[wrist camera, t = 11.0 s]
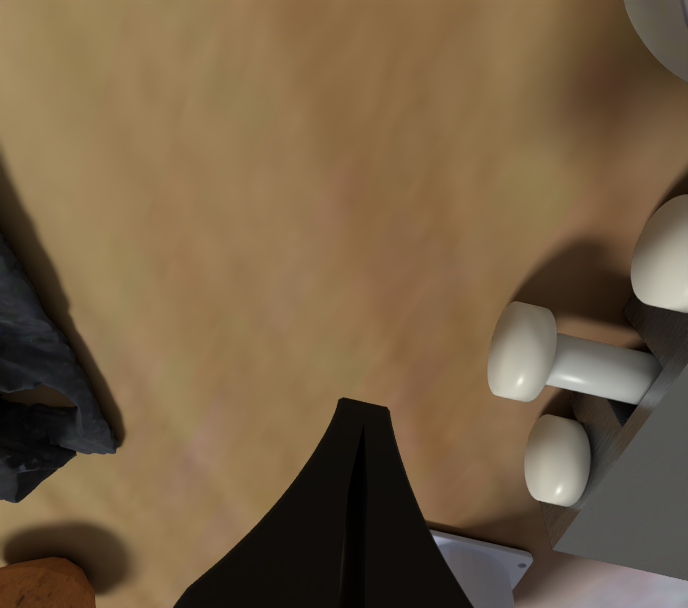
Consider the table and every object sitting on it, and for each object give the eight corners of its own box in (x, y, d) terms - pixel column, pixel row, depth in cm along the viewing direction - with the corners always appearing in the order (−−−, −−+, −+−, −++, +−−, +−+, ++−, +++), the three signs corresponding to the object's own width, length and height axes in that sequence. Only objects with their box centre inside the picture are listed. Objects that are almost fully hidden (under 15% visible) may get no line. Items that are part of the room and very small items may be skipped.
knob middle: (652, 394, 23) (694, 460, 19) (482, 356, 23) (495, 415, 19) (700, 326, 21) (758, 387, 17) (513, 284, 21) (534, 337, 17)
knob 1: (669, 486, 26) (709, 558, 22) (518, 452, 26) (535, 518, 22) (713, 434, 23) (764, 505, 20) (549, 397, 23) (572, 462, 20)
